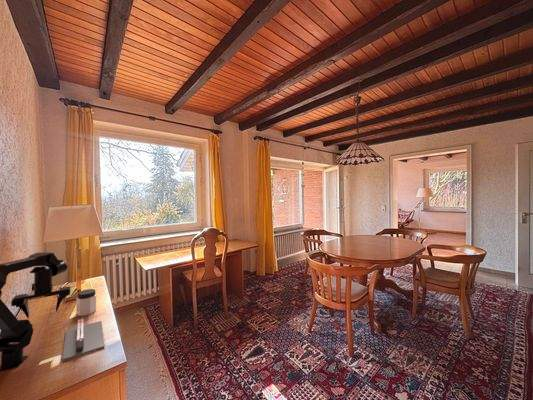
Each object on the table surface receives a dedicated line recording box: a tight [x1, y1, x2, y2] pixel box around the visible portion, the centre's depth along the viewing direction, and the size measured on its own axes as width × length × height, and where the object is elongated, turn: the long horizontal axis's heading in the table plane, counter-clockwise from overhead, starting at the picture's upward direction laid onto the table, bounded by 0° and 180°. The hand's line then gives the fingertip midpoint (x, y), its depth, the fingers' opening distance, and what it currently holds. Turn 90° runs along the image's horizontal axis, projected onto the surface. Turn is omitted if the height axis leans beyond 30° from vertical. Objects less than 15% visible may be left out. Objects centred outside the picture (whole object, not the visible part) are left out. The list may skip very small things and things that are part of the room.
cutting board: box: [61, 320, 106, 363], centre depth 105 cm, size 26×14×1 cm, turn 39°
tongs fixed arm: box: [76, 319, 84, 352], centre depth 105 cm, size 23×3×4 cm, turn 39°
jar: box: [76, 288, 97, 317], centre depth 130 cm, size 9×8×12 cm
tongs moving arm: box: [80, 318, 84, 338], centre depth 106 cm, size 20×1×4 cm, turn 39°
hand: (42, 314), depth 103 cm, fingers open, 9 cm apart
